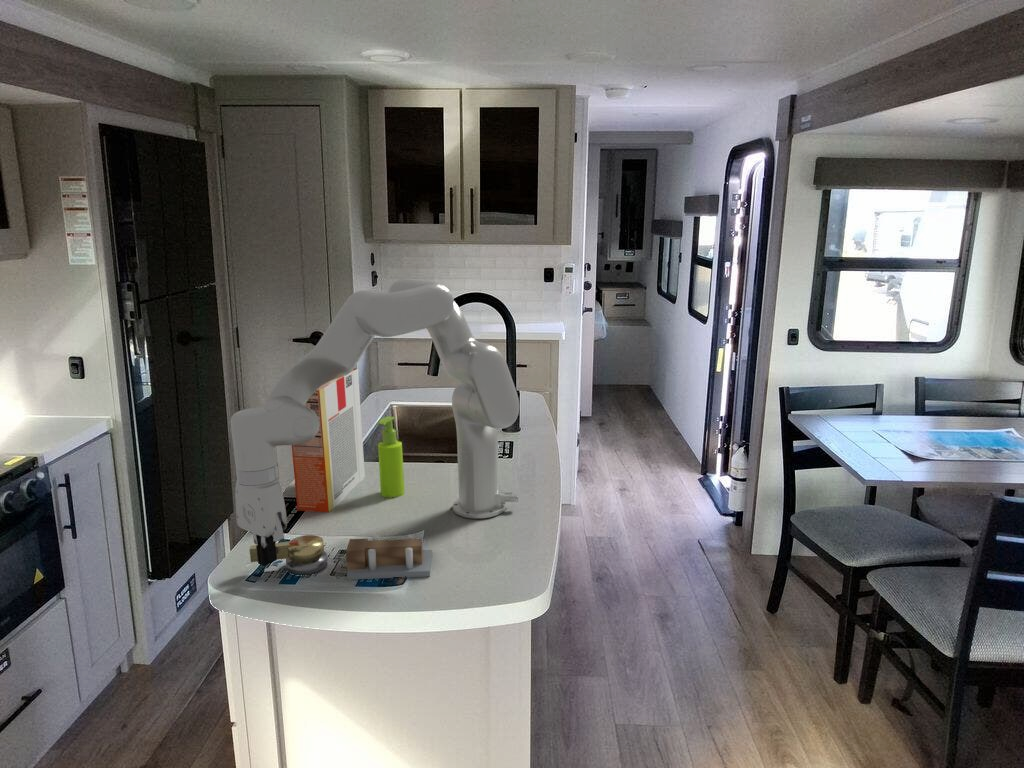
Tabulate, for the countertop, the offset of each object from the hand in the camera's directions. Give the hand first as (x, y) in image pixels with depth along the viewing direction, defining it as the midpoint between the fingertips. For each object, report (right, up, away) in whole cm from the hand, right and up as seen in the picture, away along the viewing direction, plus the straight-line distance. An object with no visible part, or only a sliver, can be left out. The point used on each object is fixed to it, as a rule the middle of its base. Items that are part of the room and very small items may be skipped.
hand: (267, 562), depth 141 cm
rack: (+23, -2, +4) cm, 24 cm away
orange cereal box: (+2, +7, +43) cm, 43 cm away
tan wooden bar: (+22, -1, +4) cm, 23 cm away
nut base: (+4, -2, +5) cm, 7 cm away
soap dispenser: (+17, +7, +41) cm, 45 cm away
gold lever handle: (+3, 0, +3) cm, 5 cm away
